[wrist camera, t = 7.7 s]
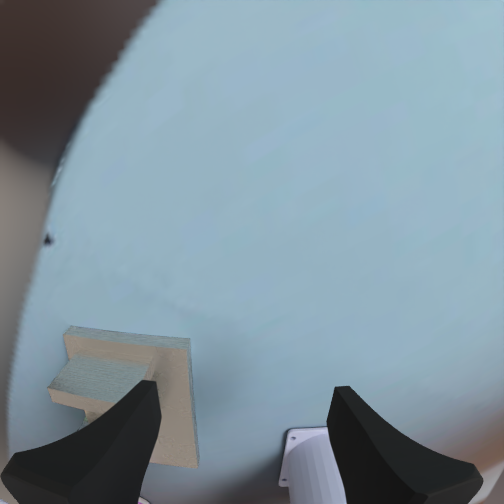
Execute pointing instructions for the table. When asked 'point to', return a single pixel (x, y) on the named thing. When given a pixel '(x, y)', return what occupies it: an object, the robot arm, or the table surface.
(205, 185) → the table surface
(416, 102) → the table surface
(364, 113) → the table surface
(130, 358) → the stand frame
